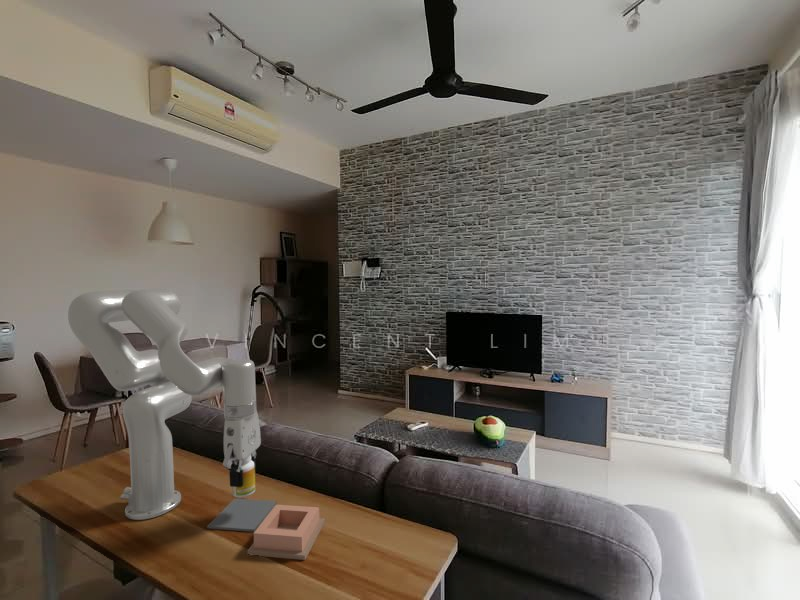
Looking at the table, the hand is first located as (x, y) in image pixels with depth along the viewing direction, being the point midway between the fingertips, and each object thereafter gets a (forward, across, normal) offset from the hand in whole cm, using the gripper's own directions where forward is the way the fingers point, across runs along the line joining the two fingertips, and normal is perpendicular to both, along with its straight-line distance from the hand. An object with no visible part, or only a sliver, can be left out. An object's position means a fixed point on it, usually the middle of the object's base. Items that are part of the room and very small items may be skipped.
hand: (243, 479), depth 98 cm
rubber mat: (+9, 0, 0) cm, 9 cm away
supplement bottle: (+4, 0, 0) cm, 4 cm away
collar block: (+10, -7, -15) cm, 19 cm away
